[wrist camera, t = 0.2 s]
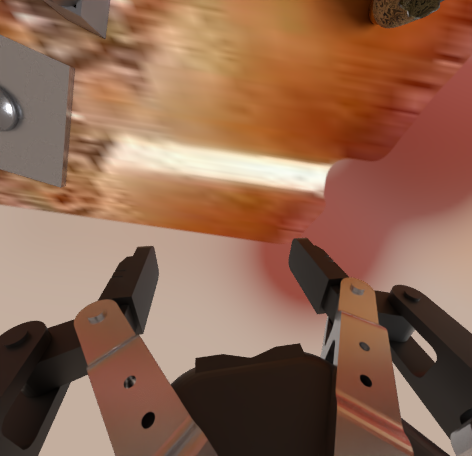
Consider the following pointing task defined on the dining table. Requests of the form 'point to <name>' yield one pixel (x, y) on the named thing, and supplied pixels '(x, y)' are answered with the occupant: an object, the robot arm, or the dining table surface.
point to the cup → (400, 11)
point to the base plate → (34, 113)
